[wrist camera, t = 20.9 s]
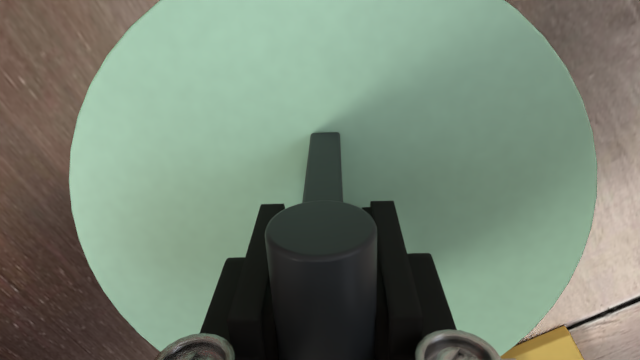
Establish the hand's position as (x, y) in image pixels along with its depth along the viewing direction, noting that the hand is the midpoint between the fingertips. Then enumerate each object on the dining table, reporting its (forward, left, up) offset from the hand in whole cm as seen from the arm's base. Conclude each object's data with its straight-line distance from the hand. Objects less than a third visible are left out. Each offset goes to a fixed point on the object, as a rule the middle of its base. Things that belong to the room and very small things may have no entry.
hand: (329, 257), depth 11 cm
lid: (0, 0, -2) cm, 2 cm away
